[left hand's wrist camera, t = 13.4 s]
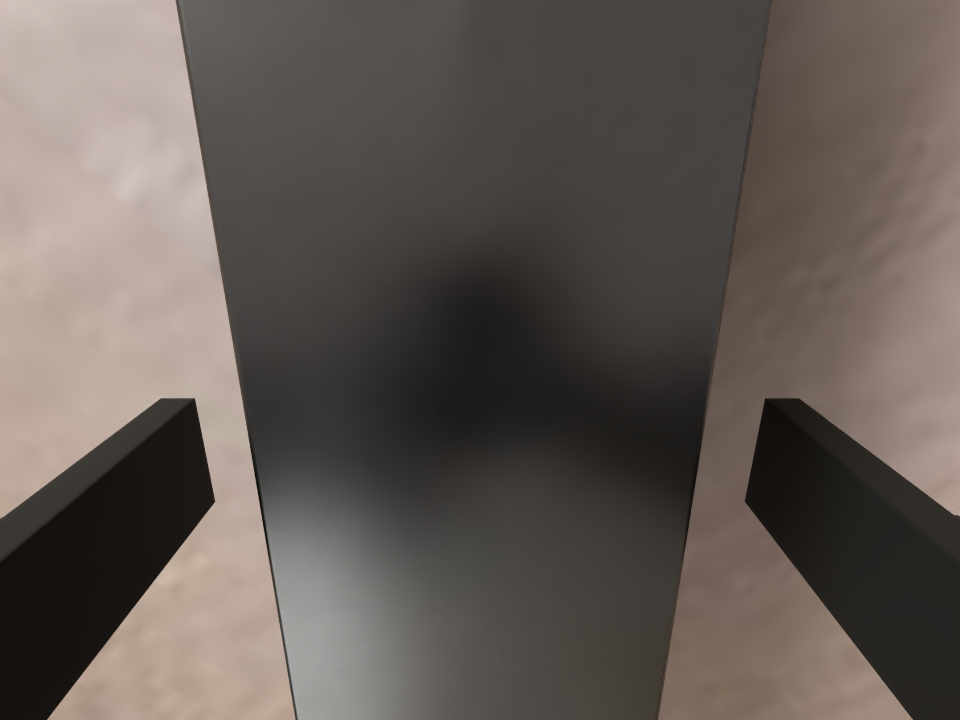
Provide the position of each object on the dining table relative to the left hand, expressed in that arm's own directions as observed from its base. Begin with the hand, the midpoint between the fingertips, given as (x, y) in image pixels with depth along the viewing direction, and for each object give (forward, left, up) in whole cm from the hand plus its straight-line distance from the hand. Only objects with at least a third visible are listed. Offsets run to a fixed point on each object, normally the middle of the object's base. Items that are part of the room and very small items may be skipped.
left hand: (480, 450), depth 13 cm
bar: (+3, +9, -3) cm, 10 cm away
